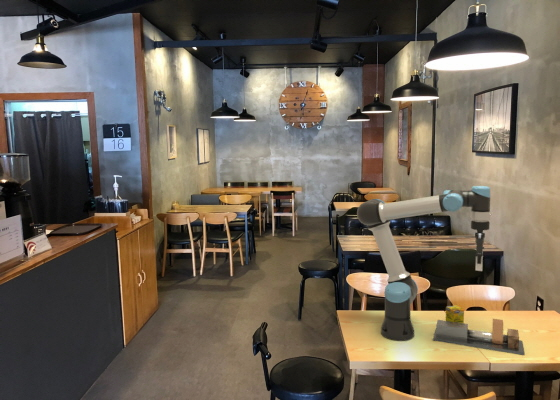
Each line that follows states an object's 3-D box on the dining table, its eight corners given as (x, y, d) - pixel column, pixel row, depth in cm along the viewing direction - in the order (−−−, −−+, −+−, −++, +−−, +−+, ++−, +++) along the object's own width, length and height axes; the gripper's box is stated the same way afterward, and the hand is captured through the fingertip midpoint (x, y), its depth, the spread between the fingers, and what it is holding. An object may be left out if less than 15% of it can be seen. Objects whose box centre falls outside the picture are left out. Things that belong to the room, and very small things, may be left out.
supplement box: (453, 333, 198) (453, 310, 197) (445, 328, 204) (445, 306, 202) (463, 331, 200) (464, 309, 198) (455, 326, 205) (455, 304, 204)
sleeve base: (433, 340, 191) (433, 326, 190) (435, 330, 201) (436, 317, 201) (524, 355, 175) (525, 340, 174) (522, 343, 186) (522, 329, 185)
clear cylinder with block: (462, 338, 189) (462, 318, 188) (462, 334, 192) (463, 314, 191) (513, 346, 180) (513, 324, 179) (512, 342, 184) (513, 321, 183)
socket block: (508, 347, 179) (508, 335, 179) (507, 340, 186) (507, 328, 186) (518, 349, 178) (519, 337, 177) (517, 341, 185) (517, 329, 184)
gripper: (489, 225, 176) (488, 274, 178) (489, 216, 198) (488, 260, 200) (470, 224, 179) (469, 273, 181) (471, 216, 201) (470, 259, 204)
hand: (479, 266), depth 191 cm, fingers open, 13 cm apart
